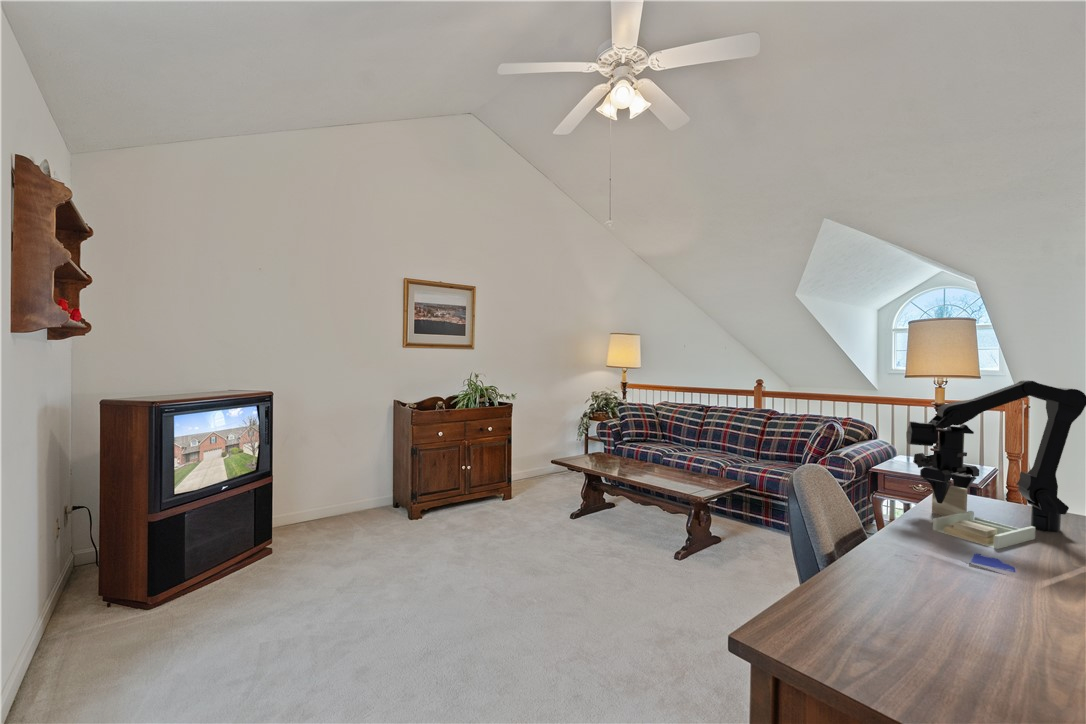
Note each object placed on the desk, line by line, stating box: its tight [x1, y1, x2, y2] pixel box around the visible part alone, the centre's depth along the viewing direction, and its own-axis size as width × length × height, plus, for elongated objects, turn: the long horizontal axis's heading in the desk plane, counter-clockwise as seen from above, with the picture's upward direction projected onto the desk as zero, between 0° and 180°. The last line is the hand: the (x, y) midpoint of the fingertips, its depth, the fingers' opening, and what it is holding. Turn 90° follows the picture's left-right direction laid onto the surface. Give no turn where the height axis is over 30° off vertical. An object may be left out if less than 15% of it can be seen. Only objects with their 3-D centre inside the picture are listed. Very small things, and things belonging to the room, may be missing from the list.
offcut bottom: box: [943, 525, 994, 546], centre depth 130 cm, size 6×9×2 cm, turn 25°
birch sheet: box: [931, 485, 969, 517], centre depth 147 cm, size 1×8×10 cm, turn 25°
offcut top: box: [954, 520, 997, 537], centre depth 130 cm, size 5×7×2 cm
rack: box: [932, 510, 1036, 550], centre depth 132 cm, size 18×14×4 cm
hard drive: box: [968, 553, 1017, 577], centre depth 115 cm, size 2×8×12 cm
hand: (948, 501), depth 147 cm, fingers open, 9 cm apart
